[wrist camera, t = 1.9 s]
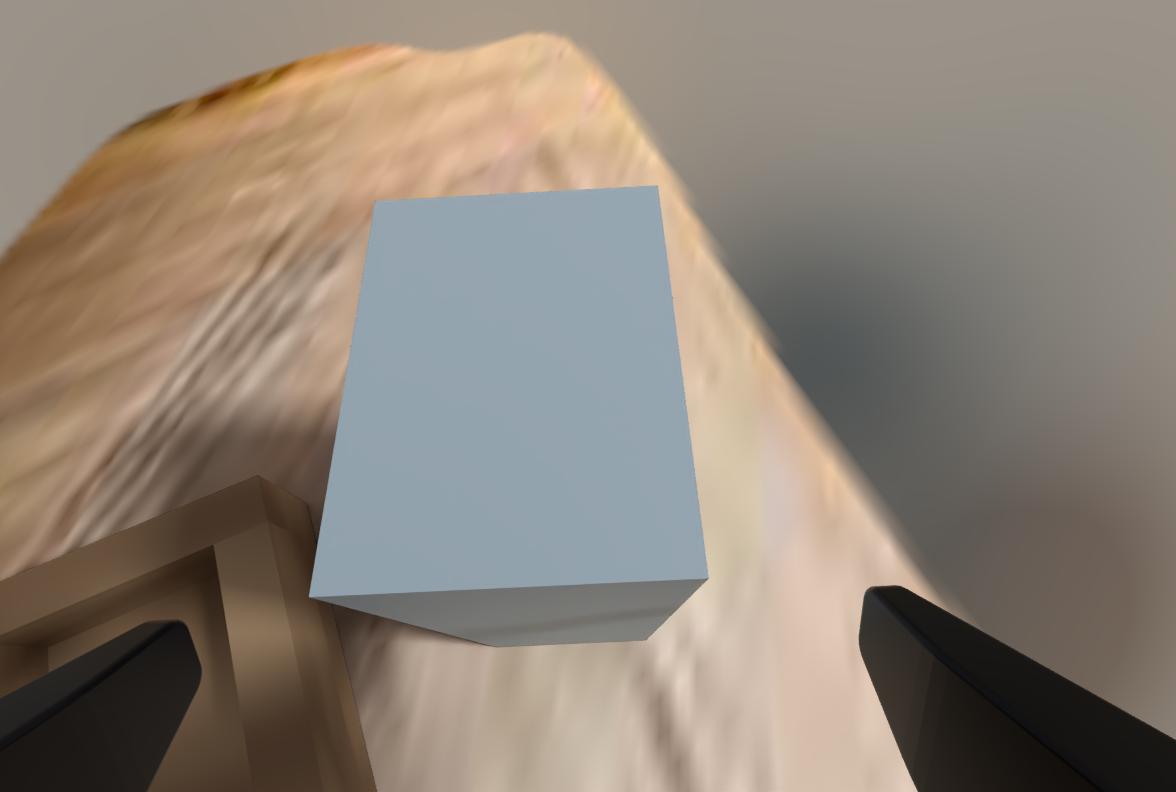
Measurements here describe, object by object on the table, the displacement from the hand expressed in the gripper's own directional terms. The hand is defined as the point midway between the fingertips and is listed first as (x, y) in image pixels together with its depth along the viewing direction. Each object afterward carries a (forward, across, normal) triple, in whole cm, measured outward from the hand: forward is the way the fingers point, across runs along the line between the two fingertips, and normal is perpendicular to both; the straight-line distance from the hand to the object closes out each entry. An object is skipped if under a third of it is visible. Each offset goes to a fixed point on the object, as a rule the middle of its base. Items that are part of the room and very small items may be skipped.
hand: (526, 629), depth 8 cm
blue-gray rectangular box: (+10, 0, +5) cm, 11 cm away
